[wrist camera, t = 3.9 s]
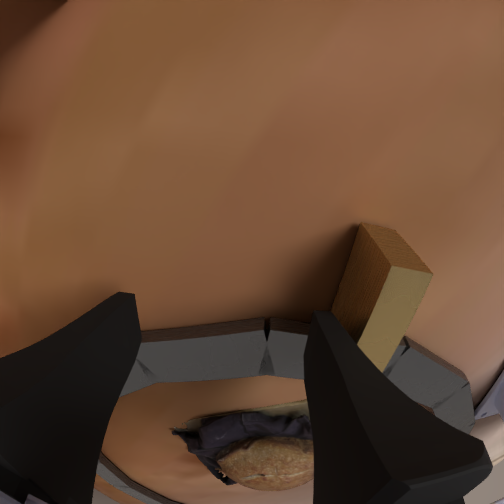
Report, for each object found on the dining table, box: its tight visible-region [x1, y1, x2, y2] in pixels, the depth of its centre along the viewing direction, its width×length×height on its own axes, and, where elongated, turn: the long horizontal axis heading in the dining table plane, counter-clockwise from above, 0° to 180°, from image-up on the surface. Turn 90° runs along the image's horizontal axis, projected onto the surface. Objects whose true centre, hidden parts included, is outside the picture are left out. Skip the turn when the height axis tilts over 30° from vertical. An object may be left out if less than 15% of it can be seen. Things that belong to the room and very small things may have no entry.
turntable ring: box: [96, 222, 475, 504], centre depth 17 cm, size 31×36×3 cm
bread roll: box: [172, 399, 314, 491], centre depth 16 cm, size 11×8×4 cm
